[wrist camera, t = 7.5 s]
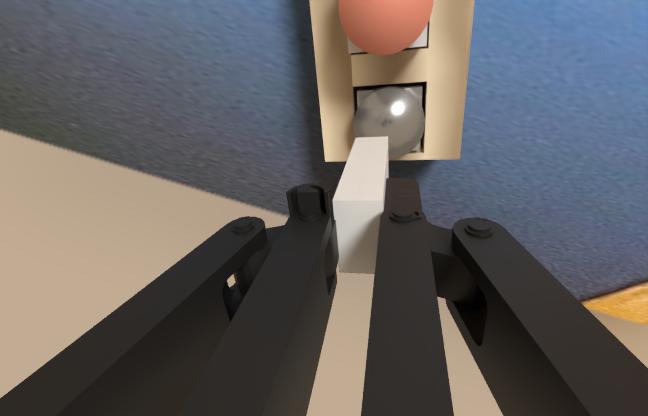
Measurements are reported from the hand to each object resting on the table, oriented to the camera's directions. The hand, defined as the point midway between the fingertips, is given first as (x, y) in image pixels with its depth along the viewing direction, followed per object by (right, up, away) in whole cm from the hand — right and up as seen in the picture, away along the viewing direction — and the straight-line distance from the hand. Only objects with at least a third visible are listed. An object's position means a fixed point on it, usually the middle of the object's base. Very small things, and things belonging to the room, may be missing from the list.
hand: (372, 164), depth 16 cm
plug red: (+2, +11, +6) cm, 13 cm away
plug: (+3, +6, +12) cm, 14 cm away
